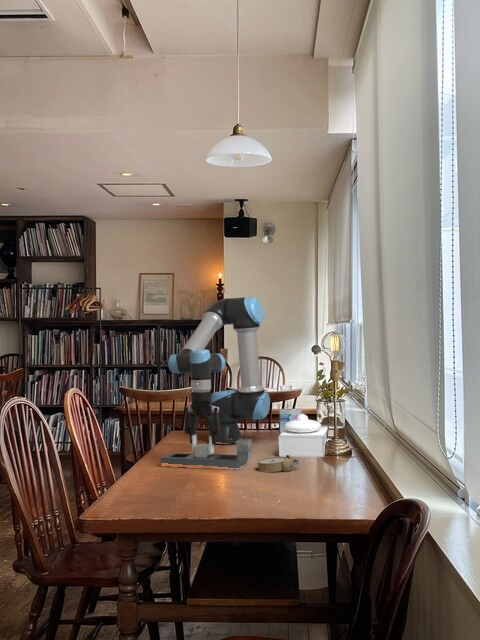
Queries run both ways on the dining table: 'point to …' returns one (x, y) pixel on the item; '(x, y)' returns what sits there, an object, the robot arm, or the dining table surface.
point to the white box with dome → (303, 438)
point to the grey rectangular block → (202, 451)
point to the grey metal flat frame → (205, 460)
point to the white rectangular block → (244, 448)
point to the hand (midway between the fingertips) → (203, 452)
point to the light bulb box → (288, 416)
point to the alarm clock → (277, 464)
